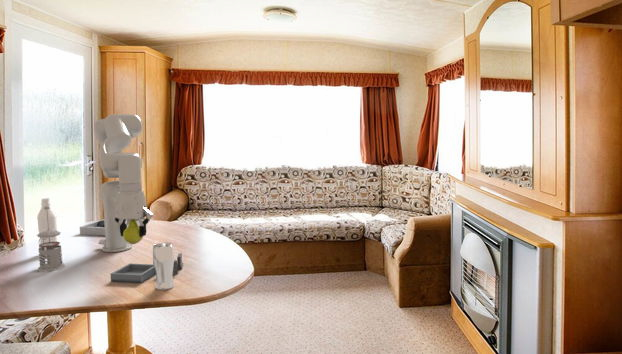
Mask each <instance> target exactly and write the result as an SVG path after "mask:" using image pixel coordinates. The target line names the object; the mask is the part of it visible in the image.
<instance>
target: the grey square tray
mask: <svg viewBox="0 0 622 354" xmlns="http://www.w3.org/2000/svg"><path fill="white" fill-rule="evenodd" d="M153 276H156V272H155V268H154V264H153V263H152V264H151V263H127V264H126V265H124V266H122V267H120V268H118V269H117V270H115V271H113V272H111V273H110V283H127V284H129V283H130V284H144V283H145V282H146V281H148V280H149V279H151V278H152V277H153Z"/></svg>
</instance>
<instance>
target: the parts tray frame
mask: <svg viewBox="0 0 622 354" xmlns="http://www.w3.org/2000/svg"><path fill="white" fill-rule="evenodd" d="M101 220H104V218H103V219H100V220H97V221H94V222H91V223H88V224H84V225H81V226H79V235H89V236H90V235H91V236H105V227H97V223H98V222H99V221H101ZM130 221H131V220H130V219H127V227H128V226H129V223H130ZM136 222H137V224H138V226H141V225H140V223H139V221H138V220H136Z"/></svg>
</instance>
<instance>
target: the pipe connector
mask: <svg viewBox="0 0 622 354" xmlns="http://www.w3.org/2000/svg"><path fill="white" fill-rule="evenodd" d="M100 220H101V221H99V220H98V221H99V222H98V223H97V227H105V224H104V220H103V219H100Z"/></svg>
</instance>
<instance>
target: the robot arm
mask: <svg viewBox="0 0 622 354" xmlns="http://www.w3.org/2000/svg"><path fill="white" fill-rule="evenodd" d="M93 130H94V131H93V132H94V135H95V137H96V139H97V142H98V143H99V149H98V159H99V164H100V168H101V170H102V174H103V176H104V177H105V178H108V179H118V180H112V181H111V180H110V181H105V182H104V183H103V182H102V184H101V185H100V187H99V190H100V191H99V192H100V197H101V201H102V207H103V219H104V224H105V235H104V237H105V239H103V238H102V239H101V238H100V239H99V241H98V245H103V246H102V248H101V249H102V251H103V252H106V253H118V252H124V251H129V250H130V249H132V248H133V244H130V243H128V242H127V241H126V240H125V239H124V237H123V232H124V230H125V229H126V228H127V219H130V220H138V221H139V223H140V225H141V226H139V234H140V237H143V238H144V237H146V235H147V225H148V224H149V222H150V221H151V220H152V218H153V217H154V214H153V213H152V212H151V211H150V210H149V209H148V207H147V199H146V195H145V192H144V190H143V185H142V167H143V159H142V157H141V156H140V155H139V153H137V152H123V150H125V149H126V148H128V147H129V146H130V145H131V143H132V139H134V138H137V137H138V136H139V135H141V134H142V132H143V122H142V120H141V118H140V116H138V115H137V114H133V113H131V114H127V113H126V114H125V113H123V114H122V113H119V114H118V113H114V114H109V115H108V116H106V117H105V118H101V119H97V120H96V121H94V124H93Z"/></svg>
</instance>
